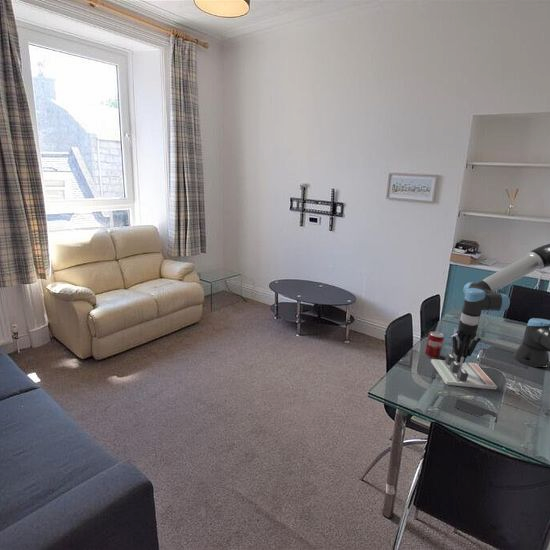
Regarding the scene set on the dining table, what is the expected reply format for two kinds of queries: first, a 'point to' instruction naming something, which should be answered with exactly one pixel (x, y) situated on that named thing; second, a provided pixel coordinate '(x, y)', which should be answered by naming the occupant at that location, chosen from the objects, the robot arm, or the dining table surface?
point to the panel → (473, 380)
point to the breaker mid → (454, 367)
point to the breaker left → (449, 359)
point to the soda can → (434, 344)
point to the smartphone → (472, 408)
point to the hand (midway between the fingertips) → (458, 368)
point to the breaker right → (462, 375)
